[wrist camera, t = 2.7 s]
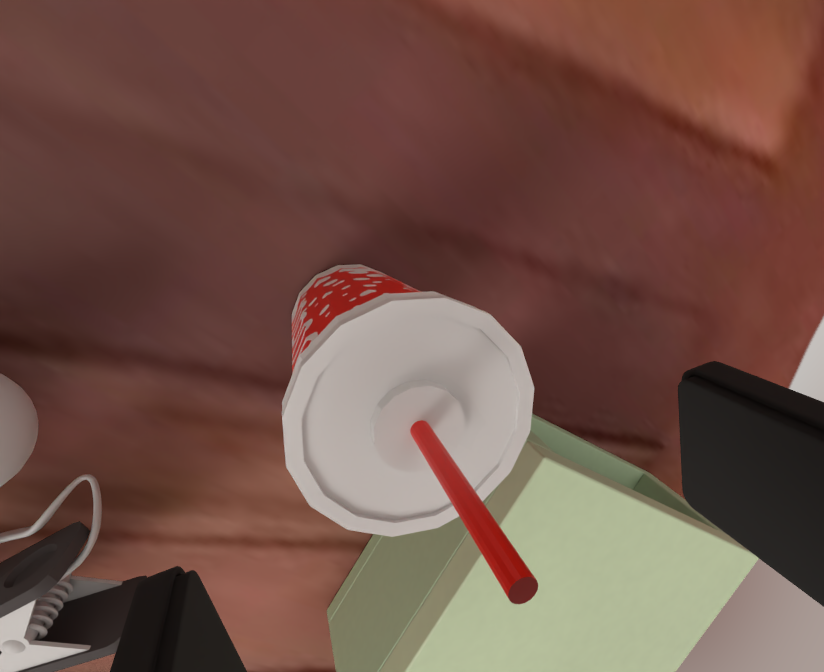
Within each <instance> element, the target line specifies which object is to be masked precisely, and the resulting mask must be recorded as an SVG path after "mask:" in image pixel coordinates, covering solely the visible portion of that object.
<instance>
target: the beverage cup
mask: <svg viewBox="0 0 824 672" xmlns="http://www.w3.org/2000/svg"><path fill="white" fill-rule="evenodd" d="M533 397H534V385H533V382H532V379H531V376H530V373H529V370H528V367H527V363H526V360H525V357H524V354H523V351H522V348H521V346H520V345H519V344H518V343H517V342H516V341H515V340H514V339H513V338H512V337H511V336H510V335H509V334H508V332H507V331H506V330H505V329H504V328H503V327H502V326H501V325H500V324H499V323H498V322H497V321H496V320H495V319H494V318H493V317H492V316H491V315H490V314H489V313H487V312H485V311H482V310H480V309H477V308H476V307H474V306H471V305H468V304H466V303H463V302H460V301H458V300H455V299H453V298H450V297H447V296H445V295H442V294H439V293H437V292H434V291H429V292H421V291H419V290H417V289H415V288H413V287H411V286H409V285H406V284H404V283H402V282H400V281H398V280H396V279H394V278H392V277H390V276H388V275H386V274H384V273H382V272H379V271H377V270H374V269H371V268H369V267H366V266H364V265H361V264H357V265H337V266H335V267H332V268H330V269H328V270H326V271H324V272H321V273H319V274H317V275H315V276H314V278H313V279H312V280H311V281H310V282H309V283H308V284H307V285H306V286H305V287H304V288H303V289H302V290H301V291H300V293H299V295H298V298H297V301H296V304H295V306H294V309H293V312H292V377H291V380H290V382H289V385H288V388H287V390H286V393H285V396H284V398H283V401H282V409H283V410H282V422H283V435H284V448H285V461H286V468H287V469H288V471H289V472H290V474H291V476H292V477H293V479H294V481H295V482H296V484H297V486H298V487H299V489H300V491H301V492H302V494H303V495H304V497H305V499H306V500H307V502H308V504H309V505H310V506H311V507H312V508H314V509H316V510H317V511H319V512H320V513H322V514H323V515H325V516H327V517H328V518H330V519H331V520H333V521H334V522H336V523H338V524H339V525H341V526H342V527H344V528H346V529H347V530H352V531H358V532H365V533H371V534H377V535H384V536H390V537H394V536H400V535H405V534H410V533H415V532H420V531H425V530H430V529H435V528H439V527H441V526H442V525H444V524H446V523H448V522H450V521H451V520H453V519H455V518H457V517H459V516H460V518H461V520H462V521H463V523H464V525H465V526H466V528H467V530H468V531H469V533H470V535H471V536H472V538H473V540H474V541H475V543H476V545H477V547H478V548H479V550H480V552H481V553H482V555H483V557H484V558H485V560H486V562H487V563H488V565H489V567H490V568H491V570H492V572H493V573H494V575H495V577H496V578H497V580H498V582H499V584H500V585H501V587H502V589H503V590H504V592H505V594H506V595H507V597H508V599H509V600H510V602H512V603H513V604H523V603H526V602H528V601H529V600H531V599H532V598H533V597H534V596H535V594H536V592H537V590H538V582H537V580H536V578H535V577H534V576H533V574H532V573H531V571H530V570H529V568H528V567H527V565H526V564H525V563H524V561H523V560H522V558H521V557H520V555H519V554H518V552H517V551H516V550H515V548H514V547H513V545H512V544H511V542H510V541H509V539H508V538H507V537H506V535H505V534H504V532H503V531H502V529H501V528H500V526H499V525H498V523H497V522H496V521H495V519H494V518H493V516H492V515H491V513H490V512H489V510H488V509H487V508H486V506H485V505H484V503H483V502H482V501H483V500H484V499H485V498H486V497H487V496H488V495H489V494H490V493H491V492H492V491H493V490H494V489H495V488H496V487H497V486H498V485H499V484H500V483H501V482H502V481H503V480H504V478H505V477H506V476H507V475H508V474H509V473H510V472H511V470H512V468H513V466H514V464H515V462H516V460H517V458H518V456H519V454H520V452H521V450H522V447H523V445H524V443H525V441H526V439H527V437H528V435H529V433H530V429H531V418H532V408H533Z"/></svg>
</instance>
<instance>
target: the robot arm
mask: <svg viewBox="0 0 824 672" xmlns="http://www.w3.org/2000/svg"><path fill="white" fill-rule="evenodd" d="M678 401H679V423H680V445H681V467H682V489H683V494H684V497H685V499H686V501H687V502H688V504H689V505H690V506H691V507H692V508H693V509H694V510H695V511H697V512H698V513H699V514H701V515H702V516H703V517H705V518H706V519H707V520H709V521H710V522H711V523H713V524H714V525H715V526H717V527H718V528H719V529H721V530H722V531H723V532H725V533H726V534H727V535H729V536H730V537H731V538H733V539H734V540H735V541H737V542H738V543H739V544H741V545H742V546H743V547H745V548H746V549H747V550H749V551H750V552H751V553H753V554H754V555H755V556H757V557H758V558H759V559H761V560H762V561H763V562H765V563H766V564H767V565H769V566H770V567H772V568H773V569H774V570H776V571H777V572H778V573H779V574H781V575H782V576H783V577H785V578H786V579H788V580H789V581H790V582H792V583H793V584H794V585H796V586H797V587H798V588H800V589H801V590H802V591H804V592H805V593H806V594H808V595H809V596H810V597H812V598H813V599H814V600H816V601H817V602H819V603H820V604H821V605H822V606H824V402H821V401H819V400H816V399H814V398H811V397H808V396H806V395H803V394H801V393H798V392H795V391H793V390H790V389H788V388H785V387H783V386H780V385H777V384H775V383H772V382H770V381H767V380H764V379H762V378H759V377H757V376H754V375H751V374H749V373H746V372H744V371H741V370H738V369H736V368H733V367H731V366H728V365H725V364H723V363H720V362H716V361H713V362H709V363H706V364H703V365H701V366H698V367H696V368H693V369H690V370H688V371H686V372H685V373H684V374H683V376H682V381H681V382H680V383H679V385H678ZM110 672H247V671H246V669H245V667H244V665H243V663H242V661H241V659H240V657H239V655H238V653H237V651H236V649H235V647H234V645H233V643H232V641H231V639H230V637H229V635H228V633H227V631H226V629H225V627H224V625H223V623H222V621H221V619H220V617H219V615H218V613H217V611H216V609H215V607H214V605H213V603H212V601H211V599H210V597H209V595H208V593H207V591H206V589H205V587H204V585H203V583H202V581H201V579H200V577H199V576H198V574H197V572H195V571H194V570H192V571H189V572H187V573H185V572H184V570H183V569H182V568H181V567H178V566H176V567H174V568H171V569H168V570H166V571H163V572H161V573H158V574H155V575H153V576H150V577H148V578H145V579H142V580H141V581H140V582H139V583H138V585H137V587H136V590H135V593H134V596H133V599H132V603H131V606H130V609H129V612H128V616H127V619H126V622H125V625H124V628H123V632H122V635H121V638H120V641H119V644H118V648H117V651H116V654H115V657H114V660H113V664H112V667H111V670H110Z"/></svg>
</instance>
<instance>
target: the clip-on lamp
mask: <svg viewBox="0 0 824 672" xmlns="http://www.w3.org/2000/svg"><path fill="white" fill-rule="evenodd" d="M38 426H39V422H38V417H37V411H36V409H35V407H34V405H33V402H32V400H31V399H30V397H29V396H28V395H27V394H26V392H25V391H24V390H23V389H22V387H20V386H19V385H18V384H16V383H15V382H13V381H12V380H11V379H9V378H8V377H6V376H5V375H3V374H1V373H0V487H1V486H2V485H4V484H5V483H6V482H7V481H9V480H10V479H11V478H12V477H14V476H15V475H16V474H17V473H18V472H19V471H20V470H21V469H22V467H23V466H24V464H25V463H26V461H27V460H28V458H29V457H30V455H31V454H32V452H33V450H34V447H35V444H36V441H37V437H38ZM83 480H88V481H89V482H90V484H91V487H92V493H93V520H92V528H91V532H90V530H89V529H88V528H87V527H86V526H84V525H83V524H82V523H81V522H80V521H79V522H76V523H73V524H71V525H69V526H67V527H65V528H63V529H62V530H60V531H58V532H56V533H54V534H52V535H51V536H49V537H47V538H45V539H43V540H41V541H40V542H38V543H36V544H34V545H32V546H30V547H29V548H27V549H25V550H23V551H21V552H20V553H18V554H16V555H14V556H12V557H10V558H9V559H7V560H5V561H3V562H1V563H0V672H55V671H58V670H62V669H65V668H68V667H72V666H75V665H78V664H82V663H85V662H88V661H92V660H95V659H98V658H101V657H105V656H108V655H111V654H114V653H116V651H117V648H118V644H119V641H120V638H121V635H122V632H123V628H124V625H125V622H126V619H127V616H128V612H129V609H130V606H131V603H132V599H133V596H134V593H135V590H136V587H137V585H138V583H139V582H140V581H141V580H142V579H145V578H147V577H146V576H140V577H136V578H133V579H129V580H126V581H114V580H106V579H97V578H89V577H80V576H72V575H71V572H73V571H74V570H75V569H76V568H77V567H78V566H79V565H80V564H81V563H82V562H83V561H84V560H85V559H86V557H87V556H88V555H89V554H90V552H91V550H92V548H93V546H94V544H95V542H96V541H97V538H98V534H99V530H100V526H101V516H102V500H101V492H100V487H99V484H98V482H97V480H96V478H95V477H94V476H92V475H91V474H84V475H81V476H80V477H78V478H76V479H75V480H73V481H72V482H71V483H70V484H69V485H68V486H67V487H66V488H65V489H64V490H63V491H62V492H61V493H60V495H59V496H58V497H57V498H56V499H55V500H54V501H53V502H52V504H51V505H50V506H49V507H48V508H47V510H46V511H45V512H44V513H43V514H42V516H41V517H40V518H39V519H38V520H37V521H36V522H35V523H34V524H33V525H32V526H29V527H25V528H20V529H15V530H11V531H7V532H3V533H0V543H2V542H6V541H10V540H15V539H20V538H24V537H27V536H30V535H32V534H34V533H35V532H37V531H38V530H40V529H41V528H42V527H43V526H44V525H45V524H46V523H47V522H48V521H49V519H50V518H51V517H52V516H53V514H54V513H55V512H56V510H57V509H58V508H59V506H60V505H61V504H62V502H63V501H64V500H65V499H66V497H67V496H68V495H69V493H70V492H71V491H72V490H73V489H74V488H75V487H76V486H77V485H78V484H79V483H80V482H82V481H83ZM89 533H90V535H89ZM88 536H89V539H88V542H87V544H86V546H85V548H84V549H83V551H82V552H81V553H80V554H79V555H78V556H77V554H78V552H79V551H80V549H81V548H82V546H83V544H84V543H85V541H86V540H87V538H88ZM76 556H77V557H76ZM75 557H76V558H75Z"/></svg>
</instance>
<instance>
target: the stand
mask: <svg viewBox="0 0 824 672" xmlns="http://www.w3.org/2000/svg"><path fill="white" fill-rule="evenodd" d="M482 502H483V503H484V505H485V506H486V508H487V509H488V510H489V512H490V513H491V515H492V516H493V518H494V519H495V521H496V522H497V523H498V525H499V526H500V528H501V529H502V531H503V532H504V534H505V535H506V537H507V538H508V539H509V541H510V542H511V544H512V545H513V547H514V548H515V550H516V551H517V552H518V554H519V555H520V557H521V558H522V560H523V561H524V563H525V564H526V565H527V567H528V568H529V570H530V571H531V573H532V574H533V576H534V577H535V578H536V580H537V582H538V590H537V592H536V594H535V596H534V597H533V598H532V599H531V600H529V601H528V602H526V603H523V604H513V603H512V602H510V600H509V599H508V597H507V595H506V594H505V592H504V590H503V589H502V587H501V585H500V584H499V582H498V580H497V578H496V577H495V575H494V573H493V572H492V570H491V568H490V567H489V565H488V563H487V562H486V560H485V558H484V557H483V555H482V553H481V552H480V550H479V548H478V547H477V545H476V543H475V541H474V540H473V538H472V536H471V535H470V533H469V531H468V530H467V528H466V526H465V525H464V523H463V521H462V520H461V518H460V516H459V517H457V518H455V519H453V520H451V521H450V522H448V523H446V524H444V525H442V526H441V527H439V528H435V529H430V530H425V531H420V532H415V533H410V534H405V535H400V536H394V537H390V536H384V535H377V534H373V536H372V537H371V539H370V540H369V542H368V544H367V545H366V547H365V549H364V550H363V552H362V553H361V555H360V557H359V558H358V560H357V562H356V563H355V565H354V567H353V568H352V570H351V571H350V573H349V575H348V576H347V578H346V580H345V581H344V583H343V584H342V586H341V588H340V589H339V591H338V593H337V594H336V596H335V597H334V599H333V601H332V602H331V604H330V606H329V607H328V609H327V616H328V622H329V630H330V636H331V642H332V649H333V655H334V661H335V668H336V672H676V671H677V669H678V668H679V666H680V665H681V664H682V662H683V661H684V660H685V658H686V657H687V655H688V654H689V653H690V651H691V650H692V649H693V647H694V646H695V645H696V643H697V642H698V641H699V639H700V638H701V636H702V635H703V634H704V632H705V631H706V630H707V628H708V627H709V626H710V624H711V623H712V622H713V620H714V619H715V618H716V616H717V615H718V613H719V612H720V611H721V609H722V608H723V607H724V605H725V604H726V603H727V601H728V600H729V598H730V597H731V596H732V594H733V593H734V592H735V590H736V589H737V588H738V586H739V585H740V584H741V582H742V581H743V580H744V578H745V577H746V575H747V574H748V573H749V571H750V570H751V569H752V567H753V566H754V564H755V563H756V562H757V560H758V559H759V558H758V557H757V556H755V555H754V554H753V553H751V552H750V551H749V550H747V549H746V548H745V547H743V546H742V545H741V544H739V543H738V542H737V541H735V540H734V539H733V538H731V537H730V536H729V535H727V534H726V533H725V532H723V531H722V530H721V529H719V528H718V527H717V526H715V525H714V524H713V523H711V522H710V521H709V520H707V519H706V518H705V517H703V516H702V515H701V514H699V513H698V512H697V511H695V510H694V509H693V508H692V507H691V506H690V505H689V504H688V502H687V501H686V500H685V499H683V498H682V497H681V496H679V495H678V494H677V493H676V492H674V491H673V490H672V489H670V488H669V487H668V486H666V485H665V484H664V483H662V482H661V481H659V480H658V479H657V478H656V477H654V476H653V475H652V474H651V473H649V472H647V471H645V470H643V469H641V468H639V467H637V466H635V465H633V464H631V463H629V462H627V461H625V460H623V459H621V458H619V457H617V456H615V455H613V454H611V453H609V452H607V451H605V450H603V449H601V448H599V447H597V446H595V445H594V444H592V443H590V442H588V441H586V440H584V439H582V438H580V437H578V436H576V435H574V434H572V433H570V432H568V431H566V430H564V429H562V428H560V427H558V426H556V425H554V424H552V423H550V422H548V421H546V420H544V419H542V418H540V417H538V416H536V415H534V414H532V418H531V429H530V433H529V435H528V437H527V439H526V441H525V443H524V445H523V447H522V450H521V452H520V454H519V456H518V458H517V460H516V462H515V464H514V466H513V468H512V470H511V472H510V473H509V474H508V475H507V476H506V477H505V478H504V480H503V481H502V482H501V483H500V484H499V485H498V486H497V487H496V488H495V489H494V490H493V491H492V492H491V493H490V494H489V495H488V496H487V497H486V498H485V499H484V500H483V501H482Z"/></svg>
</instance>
